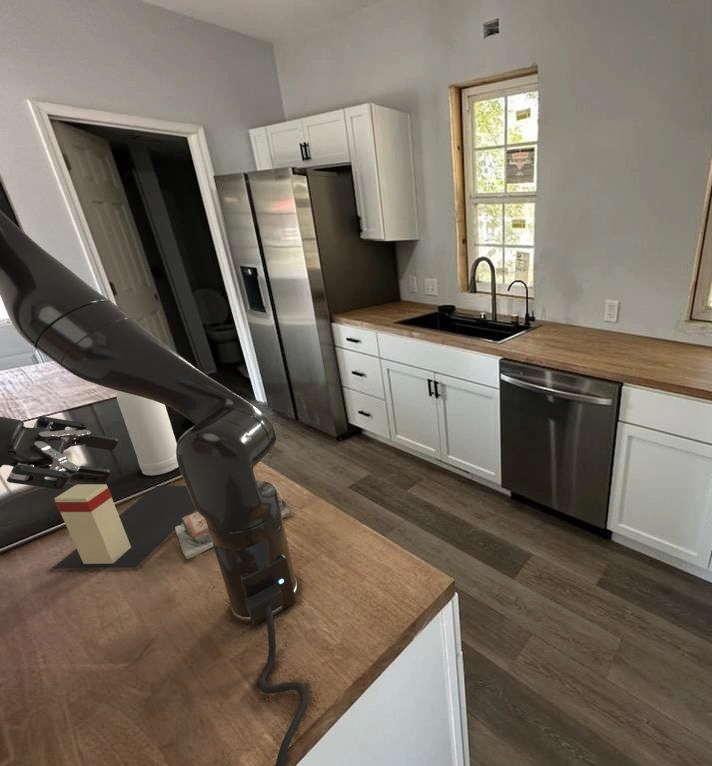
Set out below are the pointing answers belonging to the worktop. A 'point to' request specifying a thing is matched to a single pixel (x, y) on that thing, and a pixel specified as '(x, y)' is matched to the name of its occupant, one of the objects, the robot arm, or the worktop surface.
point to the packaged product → (205, 531)
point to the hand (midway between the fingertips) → (112, 459)
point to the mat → (145, 526)
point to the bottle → (149, 433)
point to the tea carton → (93, 523)
